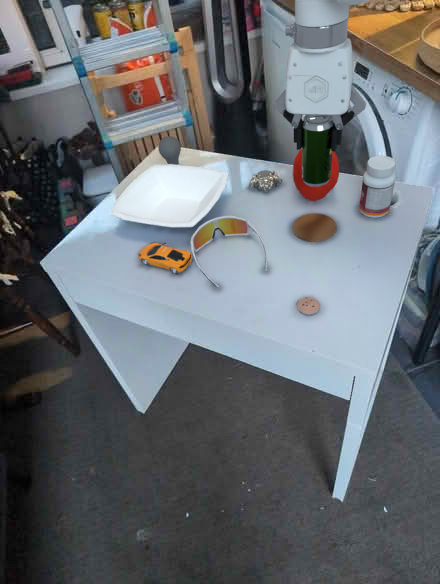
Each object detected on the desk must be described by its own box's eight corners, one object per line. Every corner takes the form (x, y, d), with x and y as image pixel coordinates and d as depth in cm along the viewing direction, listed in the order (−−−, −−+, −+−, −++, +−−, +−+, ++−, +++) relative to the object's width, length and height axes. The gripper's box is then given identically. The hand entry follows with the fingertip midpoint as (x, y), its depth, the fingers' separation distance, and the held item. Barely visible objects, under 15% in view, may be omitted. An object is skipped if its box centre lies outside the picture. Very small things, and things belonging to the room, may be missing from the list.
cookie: (299, 297, 77) (299, 293, 77) (322, 300, 76) (322, 297, 75) (294, 313, 75) (294, 309, 74) (318, 317, 74) (318, 313, 73)
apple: (346, 199, 95) (351, 148, 87) (309, 215, 93) (310, 164, 85) (320, 179, 102) (322, 130, 93) (284, 194, 100) (283, 145, 91)
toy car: (150, 246, 93) (146, 233, 91) (197, 259, 88) (194, 246, 86) (134, 263, 90) (129, 251, 88) (182, 278, 85) (178, 265, 83)
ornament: (250, 198, 101) (249, 184, 98) (247, 182, 105) (246, 168, 103) (284, 193, 100) (284, 179, 97) (280, 177, 105) (280, 163, 102)
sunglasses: (247, 224, 94) (246, 207, 90) (276, 274, 85) (277, 258, 81) (185, 244, 92) (181, 228, 88) (208, 298, 83) (205, 282, 79)
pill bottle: (360, 200, 95) (366, 152, 86) (390, 202, 93) (399, 154, 84) (357, 217, 91) (362, 169, 83) (388, 220, 89) (397, 171, 81)
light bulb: (161, 177, 112) (151, 141, 105) (172, 166, 115) (163, 130, 108) (179, 180, 110) (170, 144, 103) (190, 169, 113) (182, 133, 106)
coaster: (339, 217, 92) (340, 215, 91) (332, 244, 86) (332, 243, 86) (297, 212, 94) (297, 211, 94) (288, 239, 89) (288, 237, 89)
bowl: (202, 252, 90) (197, 230, 86) (108, 236, 98) (100, 215, 94) (239, 191, 103) (236, 169, 99) (154, 181, 111) (149, 161, 107)
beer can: (304, 189, 80) (304, 127, 71) (299, 173, 84) (299, 113, 75) (333, 185, 80) (337, 122, 71) (327, 170, 83) (331, 108, 75)
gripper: (257, 44, 64) (264, 155, 77) (379, 40, 59) (365, 160, 72) (270, 27, 69) (275, 134, 82) (384, 22, 63) (370, 138, 76)
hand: (317, 145), depth 77 cm, fingers closed on beer can, 5 cm apart
